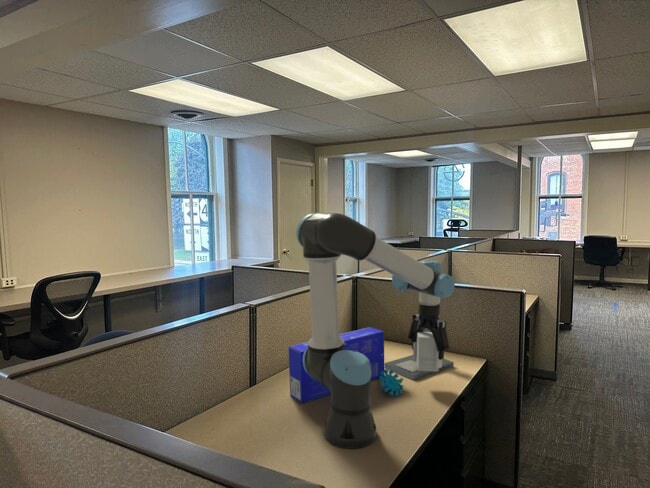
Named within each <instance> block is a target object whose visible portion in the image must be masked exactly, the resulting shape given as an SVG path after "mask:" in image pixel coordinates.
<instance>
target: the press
mask: <svg viewBox="0 0 650 488" xmlns="http://www.w3.org/2000/svg"><path fill="white" fill-rule="evenodd" d="M419 324H420V320H419ZM419 324H418V325H419ZM417 329H418V327H417ZM423 332H430V330H429V329H427V328H425V329H424V331H423ZM453 367H455V365H454V361H452V360H448V359H447V358H444V359H442V367H441V368H439V369H438V372H435V371H418V368H417V365H416V360H413V354H411V355H408V356H404V357H400V358H397V359H394V360H391V361H387V362H384V369H387V370H388V371H390V370H392V371H393V373H394V374H397V375H400V376H402V377H403V378H404V377H405V378H406V379H408V380H412V381H417V380H420V379H422V378H425V377H428V376H431V375H434V374H437V373H440V372H442V371H446V370H449V369H451V368H453Z"/></svg>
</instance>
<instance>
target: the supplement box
mask: <svg viewBox="0 0 650 488" xmlns="http://www.w3.org/2000/svg"><path fill="white" fill-rule="evenodd" d="M436 350H438V348H437V345H436V343H435V340H434V337H433V334H432V333H431V332H430V331H429V332H419V333H417V350H416V365H417V368H418V371H435V372H437V373H439V372H438V369H439V368H435V361H436Z"/></svg>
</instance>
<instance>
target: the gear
mask: <svg viewBox="0 0 650 488" xmlns="http://www.w3.org/2000/svg"><path fill="white" fill-rule="evenodd" d="M384 373H385V375H384ZM380 374H381V375H382V376H383V377H382V376H380V377H379V378H378V380H379V381H381V382H379V385H380V387H382V391H384V392H385V393H387V392H388V391H389V390H390V391H389V392H388V394H389V395H390V396H391V397H392V396H395V397H398V396H399V395H401V394H403V389H404V385H402V383H403V381H404V377H401V378H400V379H399V378H398V377H399V374H398V373H394V372H393V371H392V370H388V369H386V368H384V372H383V371H382V372H381V373H380ZM392 374H394V375H392Z"/></svg>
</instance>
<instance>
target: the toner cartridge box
mask: <svg viewBox="0 0 650 488" xmlns="http://www.w3.org/2000/svg"><path fill="white" fill-rule="evenodd" d="M339 336H340V337H341V338H342V339H343V340H344V350H350V351H353V352H359V353H361V354H363V355H365V356H366V357H367V358H368V359H369V361H370V365H371V381H373V380H376V379H379V377H380V376H382V375H381V374H380V373H381V372H382V371H383V372H384V370H385V332H384V331H383V330H381V329H378V328H373V327H371V326H369V327H364V328H361V329H357V330H352V331H348V332H344V333H343V332H342V333H339ZM307 347H308V341H307V342H303V343H302V342H301V343H299V344H294V345H290V346H288V364H289V366H288V369H289V370H288V371H289V395H290V397H291V398H293V399H295V400H296V401H297V402H299V403H301V404H305V403H308V402H310V401H314V400H317V399H320V398H323V397H326V396H329V395H331V392H330V390H328V389H327V388H326V387H324V386H323V385H321V384H320V383H319V382H317V381H315V380H314V379H312V378H311V377H310V376H309V375H308V373H307V372H306V371H305V369H304V366H303V354H304V352H305V351H306V349H307ZM384 375H385V372H384ZM382 377H383V376H382Z"/></svg>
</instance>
